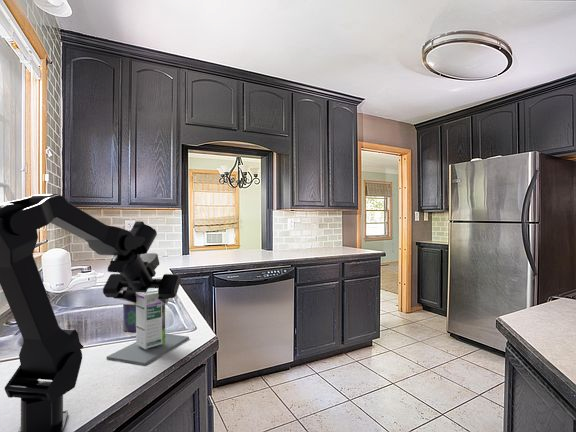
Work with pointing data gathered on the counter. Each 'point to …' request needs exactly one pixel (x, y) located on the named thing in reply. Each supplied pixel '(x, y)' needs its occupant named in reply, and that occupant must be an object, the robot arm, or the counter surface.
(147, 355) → the slate mat
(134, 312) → the flask
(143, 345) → the syrup box
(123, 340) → the counter surface
